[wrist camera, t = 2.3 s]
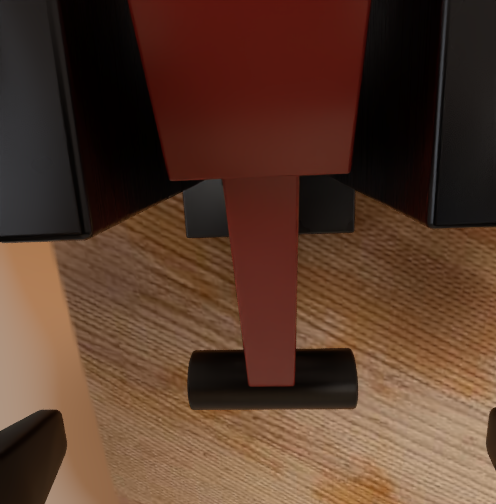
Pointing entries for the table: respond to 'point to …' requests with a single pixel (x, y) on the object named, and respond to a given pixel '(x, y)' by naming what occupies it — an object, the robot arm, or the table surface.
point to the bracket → (211, 191)
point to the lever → (258, 167)
